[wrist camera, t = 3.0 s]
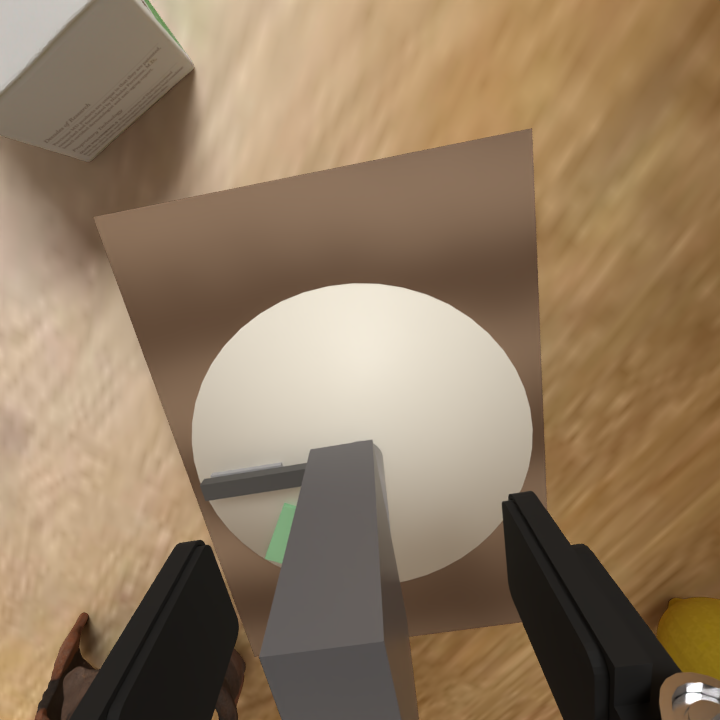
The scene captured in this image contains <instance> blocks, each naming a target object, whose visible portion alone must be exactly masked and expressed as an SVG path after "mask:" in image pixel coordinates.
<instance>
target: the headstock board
mask: <svg viewBox="0 0 720 720" xmlns="http://www.w3.org/2000/svg"><path fill="white" fill-rule="evenodd" d="M93 218H94V221H95V224H96V226H97V229H98V232H99V235H100V237H101V240H102V243H103V245H104V248H105V251H106V254H107V256H108V259H109V262H110V264H111V267H112V270H113V273H114V275H115V278H116V281H117V284H118V286H119V289H120V292H121V294H122V297H123V300H124V303H125V305H126V308H127V311H128V313H129V316H130V319H131V322H132V324H133V327H134V330H135V332H136V335H137V338H138V341H139V343H140V346H141V349H142V351H143V354H144V357H145V360H146V362H147V365H148V368H149V371H150V373H151V376H152V379H153V381H154V384H155V387H156V390H157V392H158V395H159V398H160V400H161V403H162V406H163V409H164V411H165V414H166V417H167V419H168V422H169V425H170V428H171V430H172V433H173V436H174V438H175V441H176V444H177V447H178V449H179V452H180V455H181V458H182V460H183V463H184V466H185V468H186V471H187V474H188V477H189V479H190V482H191V485H192V487H193V490H194V493H195V496H196V498H197V501H198V504H199V506H200V509H201V512H202V515H203V517H204V520H205V523H206V525H207V528H208V531H209V534H210V536H211V539H212V542H213V545H214V547H215V550H216V553H217V555H218V558H219V561H220V564H221V566H222V569H223V572H224V574H225V577H226V580H227V583H228V585H229V588H230V591H231V593H232V596H233V599H234V602H235V604H236V607H237V610H238V613H239V615H240V618H241V621H242V623H243V626H244V629H245V632H246V634H247V637H248V640H249V642H250V645H251V648H252V651H253V653H254V656H255V657H256V656H259V655H260V651H261V647H262V643H263V639H264V635H265V631H266V627H267V623H268V619H269V615H270V611H271V607H272V603H273V599H274V594H275V590H276V586H277V582H278V578H279V574H280V570H281V567H278V566H276V565H274V564H273V563H271V562H269V561H268V560H266V559H264V558H263V557H261V556H259V555H258V554H256V553H255V552H254V551H253V550H251V549H250V548H249V547H247V546H246V545H245V544H243V543H242V542H241V541H240V540H239V539H238V538H237V537H236V536H235V535H234V534H233V533H232V532H231V531H230V530H229V529H228V528H227V526H226V525H225V524H224V523H223V521H222V520H221V519H220V518H219V516H218V515H217V513H216V512H215V510H214V509H213V507H212V505H211V504H210V502H209V501H205V499H204V496H203V493H202V490H201V488H200V484H201V483H200V480H199V477H198V473H197V470H196V466H195V463H194V456H193V448H192V420H193V414H194V408H195V403H196V399H197V396H198V393H199V390H200V387H201V384H202V382H203V380H204V378H205V376H206V374H207V372H208V370H209V368H210V366H211V364H212V362H213V361H214V360H215V358H216V357H217V355H218V354H219V353H220V351H221V350H222V348H223V347H224V346H225V344H226V343H227V342H228V341H229V340H230V339H231V338H232V337H233V336H234V335H235V334H236V333H237V332H238V331H239V330H240V329H241V328H242V327H244V326H245V325H246V324H247V323H249V322H250V321H251V320H252V319H254V318H255V317H256V316H258V315H259V314H260V313H262V312H264V311H265V310H267V309H269V308H271V307H272V306H274V305H276V304H278V303H279V302H281V301H283V300H286V299H288V298H291V297H293V296H296V295H298V294H301V293H303V292H307V291H311V290H315V289H319V288H323V287H326V286H333V285H342V284H351V283H368V284H383V285H390V286H397V287H403V288H406V289H410V290H413V291H417V292H420V293H423V294H427V295H429V296H431V297H433V298H436V299H438V300H440V301H442V302H445V303H447V304H449V305H451V306H452V307H454V308H455V309H457V310H459V311H460V312H462V313H463V314H465V315H467V316H468V317H470V318H471V319H472V320H473V321H475V322H476V323H477V324H478V325H479V326H481V327H482V328H483V329H484V330H485V331H486V332H488V333H489V334H490V336H491V337H492V338H493V339H494V340H495V341H496V342H497V343H498V345H499V346H500V347H501V348H502V349H503V350H504V352H505V353H506V355H507V356H508V358H509V359H510V361H511V362H512V364H513V366H514V367H515V369H516V371H517V373H518V375H519V377H520V380H521V382H522V384H523V386H524V388H525V392H526V396H527V399H528V403H529V406H530V412H531V420H532V427H533V433H532V452H531V457H530V463H529V468H528V471H527V474H526V478H525V481H524V484H523V487H522V489H521V491H520V492H526V491H533V492H534V493H535V494H536V496H537V497H538V498H539V500H540V501H541V503H542V504H543V506H544V507H545V509H546V510H547V497H546V471H545V446H544V421H543V395H542V370H541V344H540V319H539V293H538V268H537V242H536V217H535V191H534V166H533V140H532V128H531V129H526V130H521V131H516V132H511V133H507V134H502V135H497V136H492V137H487V138H482V139H477V140H472V141H467V142H462V143H457V144H452V145H447V146H442V147H437V148H432V149H427V150H422V151H417V152H412V153H407V154H402V155H397V156H393V157H388V158H383V159H378V160H373V161H368V162H363V163H358V164H353V165H348V166H343V167H338V168H333V169H328V170H323V171H318V172H313V173H308V174H303V175H298V176H293V177H288V178H283V179H279V180H274V181H269V182H264V183H259V184H254V185H249V186H244V187H239V188H234V189H229V190H224V191H219V192H214V193H209V194H204V195H199V196H194V197H189V198H184V199H179V200H174V201H169V202H165V203H160V204H155V205H150V206H145V207H140V208H135V209H130V210H125V211H120V212H115V213H110V214H105V215H100V216H95V217H93ZM400 585H401V591H402V596H403V601H404V606H405V611H406V617H407V625H408V633H409V637H410V636H418V635H426V634H434V633H441V632H449V631H457V630H465V629H472V628H480V627H488V626H496V625H503V624H511V623H519V622H522V621H521V618H520V616H519V614H518V611H517V609H516V607H515V604H514V602H513V599H512V597H511V594H510V590H509V585H508V576H507V564H506V552H505V540H504V527H503V521H502V522H501V523H500V524H499V525H498V527H497V528H496V529H495V530H494V531H493V532H492V534H491V535H489V536H488V537H487V538H486V539H485V540H484V541H483V542H482V543H481V544H480V545H478V546H477V547H476V548H475V549H473V550H472V551H470V552H469V553H468V554H466V555H465V556H463V557H462V558H461V559H459V560H457V561H455V562H453V563H451V564H450V565H448V566H446V567H444V568H442V569H440V570H437V571H435V572H432V573H430V574H428V575H425V576H422V577H418V578H415V579H412V580H408V581H404V582H400Z"/></svg>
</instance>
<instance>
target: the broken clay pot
mask: <svg viewBox="0 0 720 720" xmlns="http://www.w3.org/2000/svg"><path fill="white" fill-rule="evenodd" d="M87 619H88V614H87V613H82V614H81V615H80V616H79V618H78V619H77V621H76V623H75V625H74V627H73V628H72V630H71V631H70V633H69V634H68V636H67V637H66V639H65V641H64V642H63V644H62V646H61V648H60V650H59V653H58V656H57V659H56V661H55V664H54V669H53V672H52V676H51V681H50V682H49V684H48V689H47V690H46V691H45V692H44V694H43V698H42V700H41V701H40V703H39V705H38V711H37V714H36V717H35V720H69V719H70V718H71V716H72V714H73V713H74V711H75V709H76V708H77V706H78V704H79V703H80V701H81V700H82V698H83V696H84V695H85V693H86V691H87V690H88V688H89V687H90V685H91V683H92V682H93V680H94V678H95V677H96V675H97V673H98V672H99V670H100V669H97V670H96V669H94V668H93V667H92V666H90V665H89V663H88V662H87V661H85V660H84V659H83V658H82V656H81V653H80V649H79V644H80V637H81V633H82V629H83V627H84V625H85V624H86V621H87ZM244 672H245V662H244V660H243V659H242V657H241V656H240V655H239V653H238V652H237V651H236V650H235V649H233V652H232V655H231V659H230V662H229V665H228V668H227V671H226V675H225V678H224V681H223V684H222V687H221V690H220V694H219V697H218V700H217V703H216V706H215V709H216V710H217V713H218V716H219V720H238V714H237V708H236V705H237V702H238V699H239V696H240V693H241V690H242V686H243V682H244Z"/></svg>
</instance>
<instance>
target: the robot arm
mask: <svg viewBox="0 0 720 720" xmlns="http://www.w3.org/2000/svg"><path fill="white" fill-rule="evenodd" d="M502 515H503V527H504V540H505V552H506V564H507V576H508V585H509V590H510V594H511V597H512V599H513V602H514V604H515V607H516V609H517V611H518V614H519V616H520V618H521V621H522V623H523V625H524V628H525V630H526V632H527V635H528V637H529V640H530V642H531V644H532V647H533V649H534V651H535V654H536V656H537V658H538V661H539V663H540V665H541V668H542V670H543V673H544V675H545V677H546V680H547V682H548V684H549V687H550V689H551V691H552V694H553V696H554V698H555V701H556V703H557V706H558V708H559V710H560V713H561V715H562V717H563V720H720V680H717V679H715V678H713V677H711V676H708V675H703V674H698V673H693V672H684V673H683V672H682V671H681V670H680V668H679V667H678V666H677V664H676V663H675V662H674V660H673V659H672V658H671V656H670V655H669V654H668V652H667V651H666V650H665V648H664V647H663V646H662V644H661V643H660V642H659V640H658V639H657V638H656V636H655V635H654V634H653V632H652V631H651V630H650V628H649V627H648V626H647V624H646V623H645V622H644V620H643V619H642V618H641V616H640V615H639V614H638V612H637V611H636V610H635V608H634V607H633V606H632V604H631V603H630V602H629V600H628V599H627V598H626V596H625V595H624V594H623V592H622V591H621V590H620V588H619V587H618V586H617V584H616V583H615V582H614V580H613V579H612V577H611V576H610V575H609V573H608V572H607V571H606V569H605V568H604V567H603V565H602V564H601V563H600V561H599V560H598V559H597V557H596V556H595V555H594V553H593V552H592V551H591V550H590V549H589V548H588V547H587V546H586V545H584V544H576V545H570V543H569V542H568V540H567V539H566V537H565V536H564V535H563V533H562V532H561V530H560V529H559V527H558V526H557V524H556V523H555V522H554V520H553V519H552V517H551V516H550V514H549V513H548V511H547V510H546V509H545V507H544V506H543V504H542V503H541V501H540V500H539V498H538V497H537V496H536V494H535V493H534V492H533V491H526V492H519V493H513V494H509V496H508V501H503V502H502ZM238 630H239V624H238V618H237V616H236V613H235V610H234V608H233V605H232V602H231V599H230V597H229V594H228V591H227V589H226V586H225V583H224V581H223V578H222V575H221V572H220V570H219V567H218V564H217V562H216V559H215V556H214V554H213V551H212V548H211V546H209V545H205V543H204V542H203V541H202V540H197V541H190V542H183V543H179V544H177V545H176V546H175V548H174V549H173V551H172V552H171V554H170V556H169V557H168V559H167V561H166V562H165V564H164V566H163V567H162V569H161V570H160V572H159V574H158V575H157V577H156V579H155V580H154V582H153V583H152V585H151V587H150V588H149V590H148V592H147V593H146V595H145V597H144V598H143V600H142V601H141V603H140V605H139V606H138V608H137V610H136V611H135V613H134V615H133V616H132V618H131V619H130V621H129V623H128V624H127V626H126V628H125V629H124V631H123V633H122V634H121V636H120V637H119V639H118V641H117V642H116V644H115V646H114V647H113V649H112V651H111V652H110V654H109V655H108V657H107V659H106V660H105V662H104V664H103V665H102V667H101V669H100V670H99V672H98V673H97V675H96V677H95V678H94V680H93V682H92V683H91V685H90V687H89V688H88V690H87V691H86V693H85V695H84V696H83V698H82V700H81V701H80V703H79V704H78V706H77V708H76V709H75V711H74V713H73V714H72V716H71V718H70V719H69V720H211V719H212V716H213V713H214V710H215V706H216V703H217V700H218V697H219V694H220V690H221V687H222V684H223V681H224V678H225V675H226V671H227V668H228V665H229V662H230V659H231V655H232V652H233V649H234V646H235V643H236V639H237V636H238Z"/></svg>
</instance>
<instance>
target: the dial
mask: <svg viewBox="0 0 720 720" xmlns="http://www.w3.org/2000/svg"><path fill="white" fill-rule="evenodd" d="M532 433H533V427H532V420H531V412H530V406H529V403H528V399H527V396H526V392H525V388H524V386H523V384H522V382H521V380H520V377H519V375H518V373H517V371H516V369H515V367H514V366H513V364H512V362H511V361H510V359H509V358H508V356H507V355H506V353H505V352H504V350H503V349H502V348H501V347H500V346H499V345H498V343H497V342H496V341H495V340H494V339H493V338H492V337H491V336H490V334H489V333H488V332H486V331H485V330H484V329H483V328H482V327H481V326H479V325H478V324H477V323H476V322H475V321H473V320H472V319H471V318H470V317H468V316H467V315H465V314H463V313H462V312H460V311H459V310H457V309H455V308H454V307H452V306H451V305H449V304H447V303H445V302H442V301H440V300H438V299H436V298H433V297H431V296H429V295H427V294H423V293H420V292H417V291H413V290H410V289H406V288H403V287H397V286H390V285H383V284H368V283H351V284H342V285H333V286H326V287H323V288H319V289H315V290H311V291H307V292H303V293H301V294H298V295H296V296H293V297H291V298H288V299H286V300H283V301H281V302H279V303H278V304H276V305H274V306H272V307H271V308H269V309H267V310H265V311H264V312H262V313H260V314H259V315H258V316H256V317H255V318H254V319H252V320H251V321H250V322H249V323H247V324H246V325H245V326H244V327H242V328H241V329H240V330H239V331H238V332H237V333H236V334H235V335H234V336H233V337H232V338H231V339H230V340H229V341H228V342H227V343H226V344H225V346H224V347H223V348H222V350H221V351H220V353H219V354H218V355H217V357H216V358H215V360H214V361H213V362H212V364H211V366H210V368H209V370H208V372H207V374H206V376H205V378H204V380H203V382H202V384H201V387H200V390H199V393H198V396H197V399H196V403H195V408H194V414H193V420H192V448H193V456H194V463H195V466H196V470H197V473H198V477H199V480H200V483H202V481H203V480H204V479H207V478H213V477H220V476H226V475H232V474H239V473H245V472H251V471H258V470H264V469H270V468H277V467H283V466H289V465H296V464H302V463H307V460H308V456H309V452H310V449H316V448H322V447H328V446H335V445H341V444H347V443H353V442H356V441H366V440H373V444H375V445H376V446H377V447H378V448H379V449H380V450H381V452H382V455H383V462H384V472H385V482H386V492H387V502H388V511H389V521H390V531H391V538H392V544H393V549H394V554H395V559H396V564H397V570H398V575H399V580H400V582H404V581H408V580H412V579H415V578H418V577H422V576H425V575H428V574H430V573H432V572H435V571H437V570H440V569H442V568H444V567H446V566H448V565H450V564H451V563H453V562H455V561H457V560H459V559H461V558H462V557H463V556H465V555H466V554H468V553H469V552H470V551H472V550H473V549H475V548H476V547H477V546H478V545H480V544H481V543H482V542H483V541H484V540H485V539H486V538H487V537H488V536H489V535H491V534H492V532H493V531H494V530H495V529H496V528H497V527H498V525H499V524H500V523H501V522H502V521H503V515H502V502H503V501H508V496H509V494H513V493H519V492H520V491H521V489H522V487H523V484H524V481H525V478H526V474H527V471H528V468H529V463H530V457H531V452H532ZM300 489H301V487H295V488H288V489H282V490H275V491H269V492H262V493H256V494H249V495H243V496H236V497H230V498H223V499H217V500H210V501H209V502H210V504H211V505H212V507H213V509H214V510H215V512H216V513H217V515H218V516H219V518H220V519H221V520H222V521H223V523H224V524H225V525H226V526H227V528H228V529H229V530H230V531H231V532H232V533H233V534H234V535H235V536H236V537H237V538H238V539H239V540H240V541H241V542H242V543H243V544H245V545H246V546H247V547H249V548H250V549H251V550H253V551H254V552H255V553H256V554H258V555H259V556H261V557H263V558H264V559H266V560H268V561H269V562H271V563H273V564H274V565H276V566H278V567H281V566H282V562H283V558H284V554H285V550H286V546H287V542H288V538H289V533H290V529H291V525H292V521H293V517H294V513H295V509H296V505H297V501H298V497H299V493H300Z"/></svg>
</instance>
